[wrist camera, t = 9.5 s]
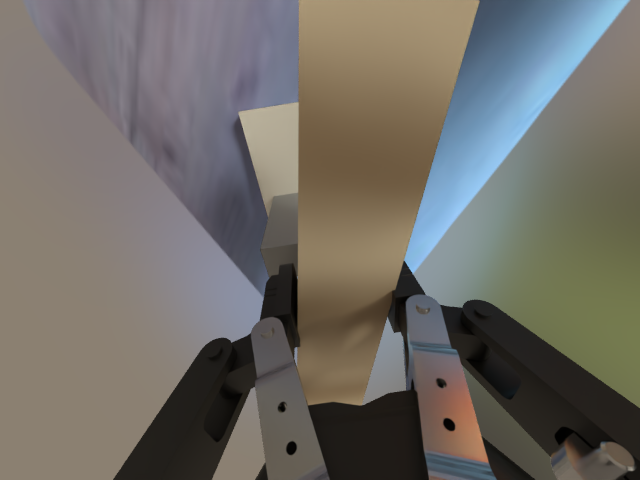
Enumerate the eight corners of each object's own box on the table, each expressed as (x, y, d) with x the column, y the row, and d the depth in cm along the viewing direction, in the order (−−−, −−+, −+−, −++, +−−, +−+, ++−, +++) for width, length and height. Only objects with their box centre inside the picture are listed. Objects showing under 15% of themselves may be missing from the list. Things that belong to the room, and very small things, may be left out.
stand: (242, 111, 19) (194, 123, 10) (367, 90, 19) (425, 86, 10) (285, 268, 27) (279, 347, 19) (371, 254, 27) (405, 327, 18)
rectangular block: (347, 359, 19) (357, 417, 16) (297, 361, 19) (297, 421, 15) (408, 37, 9) (479, 0, 5) (299, 28, 8) (299, -19, 5)
